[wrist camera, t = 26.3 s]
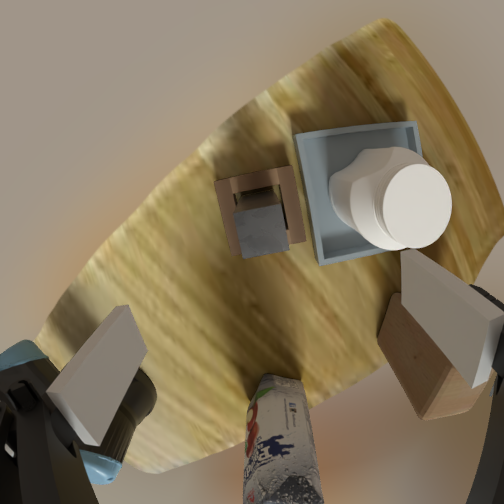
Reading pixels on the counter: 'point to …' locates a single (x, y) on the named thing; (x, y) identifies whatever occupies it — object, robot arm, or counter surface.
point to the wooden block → (423, 366)
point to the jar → (392, 198)
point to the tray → (333, 160)
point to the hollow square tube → (253, 181)
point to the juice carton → (280, 446)
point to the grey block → (260, 224)
